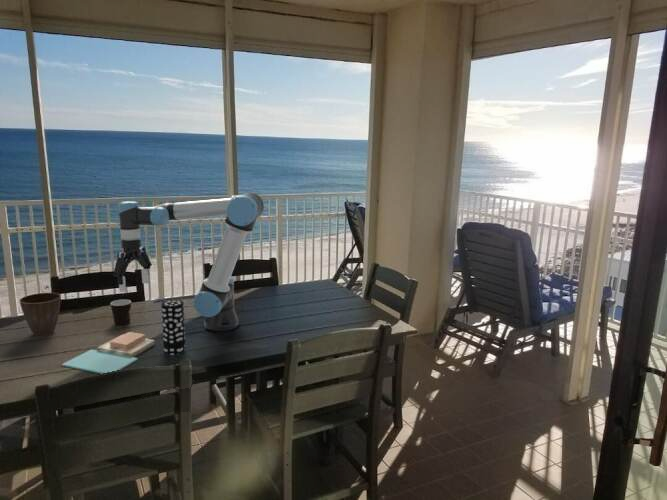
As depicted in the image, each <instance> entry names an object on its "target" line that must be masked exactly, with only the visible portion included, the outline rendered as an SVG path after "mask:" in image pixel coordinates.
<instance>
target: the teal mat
mask: <svg viewBox="0 0 667 500" xmlns="http://www.w3.org/2000/svg"><path fill="white" fill-rule="evenodd" d="M138 359H139V358H137V357H135V356H134V357H129V356H124V355H118V354H113V353H108V352H102V351H97V349H90V350H88V351H86V352H84V353H82V354H79V355H77V356H75V357H73V358H72V359H69V360H68V361H65V362H64V363H62V364H61V365H62V366H63V367H67V368H71V369H77V370H81V371H86V372H92V373H97V374H101V375H104V374H103V373H107V372H112V371H117V370H119V371H121V370H122V369H124V368H126V367H128V366H129V365H131V364H133V363H134V362H136V361H138Z"/></svg>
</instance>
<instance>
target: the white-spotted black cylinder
mask: <svg viewBox="0 0 667 500" xmlns="http://www.w3.org/2000/svg"><path fill="white" fill-rule="evenodd" d="M184 305H185V304H184V301H183V300H180V299H169V300H164V301H162V302H161V305H160V306H161V322H162V323H161V325H162V327H161V328H162V345H163V353H164V354H166V355H169V356H174V355H176V356H177V355H181V354H183V353H185V351H186V331H185V330H186V329H185V327H186V325H185V306H184Z"/></svg>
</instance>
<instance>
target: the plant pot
mask: <svg viewBox="0 0 667 500" xmlns="http://www.w3.org/2000/svg"><path fill="white" fill-rule="evenodd" d="M61 297H62V296H61V294H60V293H57V292H42V293H41V292H40V293H33V294H28V295H26V296H23V297H21V298H20V299H19V304H20V309H21V311H22V314H23V317H24V319H25V322H26V323H27V325H28V327H29V329H30V331H31V332H32V334H33V335H34V336H35V337H46V336H50V335H53V334H54V333H55V329H56V327H57V323H58V320H59V315H60V308H61Z"/></svg>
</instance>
